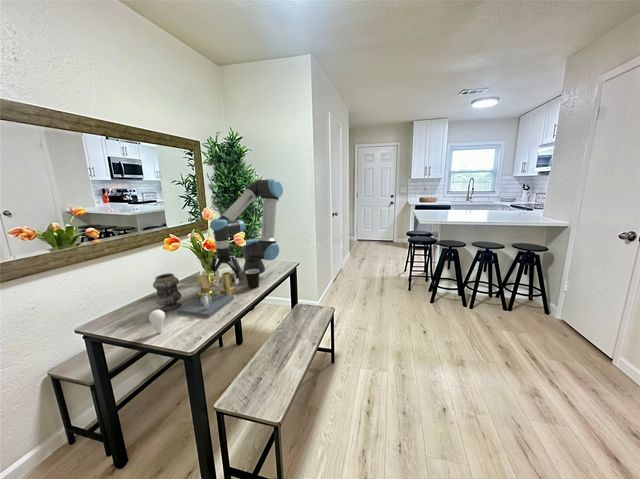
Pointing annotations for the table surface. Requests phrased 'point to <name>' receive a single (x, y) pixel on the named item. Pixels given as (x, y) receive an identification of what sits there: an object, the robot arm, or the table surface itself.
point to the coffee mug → (252, 278)
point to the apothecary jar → (167, 292)
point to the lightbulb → (157, 320)
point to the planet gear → (227, 284)
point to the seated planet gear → (204, 287)
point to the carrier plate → (201, 308)
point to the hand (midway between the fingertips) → (227, 282)
